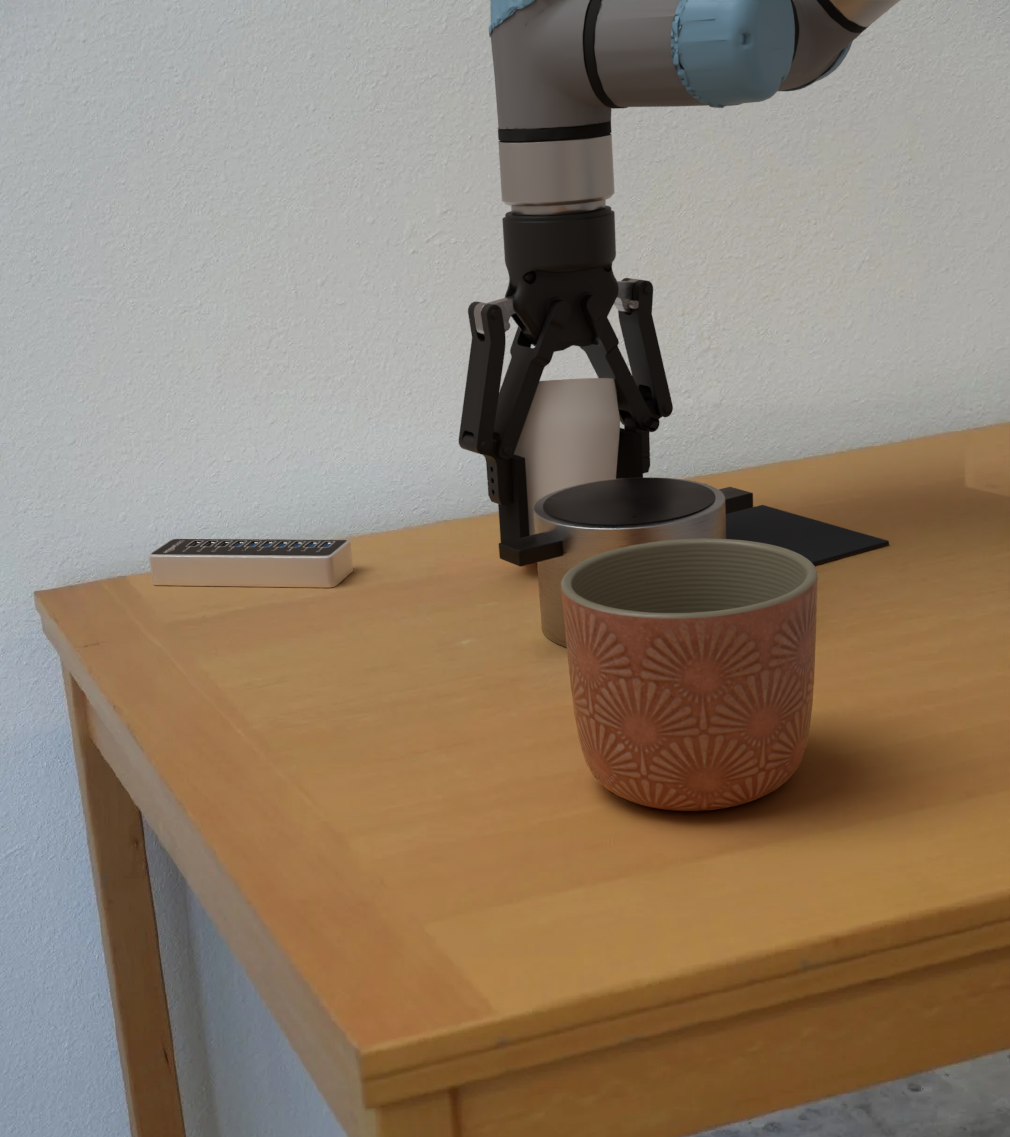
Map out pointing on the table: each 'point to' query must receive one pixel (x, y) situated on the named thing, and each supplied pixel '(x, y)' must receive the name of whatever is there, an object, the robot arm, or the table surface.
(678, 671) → the planter
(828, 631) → the table surface
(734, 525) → the mat
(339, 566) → the multiport hub
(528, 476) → the cup
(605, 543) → the steel pot
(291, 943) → the table surface
